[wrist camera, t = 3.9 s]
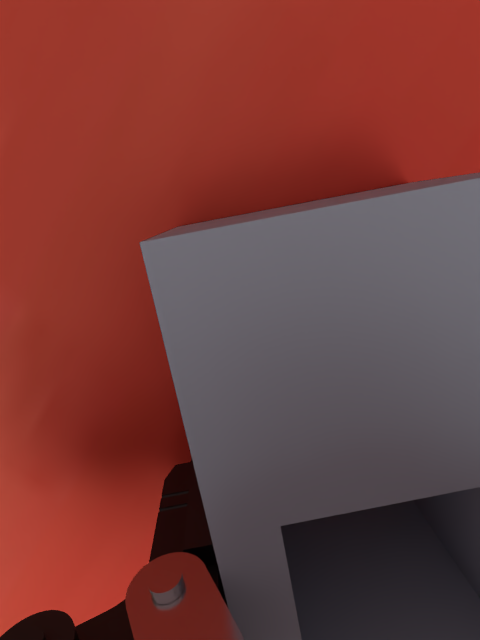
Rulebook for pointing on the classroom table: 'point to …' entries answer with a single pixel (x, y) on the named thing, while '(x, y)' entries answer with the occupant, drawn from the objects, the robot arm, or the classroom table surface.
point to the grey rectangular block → (335, 407)
